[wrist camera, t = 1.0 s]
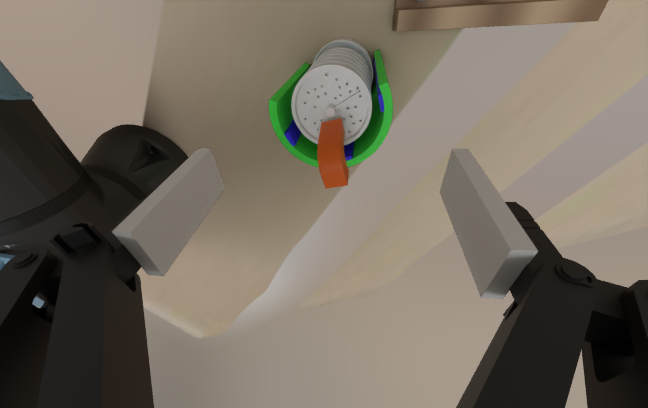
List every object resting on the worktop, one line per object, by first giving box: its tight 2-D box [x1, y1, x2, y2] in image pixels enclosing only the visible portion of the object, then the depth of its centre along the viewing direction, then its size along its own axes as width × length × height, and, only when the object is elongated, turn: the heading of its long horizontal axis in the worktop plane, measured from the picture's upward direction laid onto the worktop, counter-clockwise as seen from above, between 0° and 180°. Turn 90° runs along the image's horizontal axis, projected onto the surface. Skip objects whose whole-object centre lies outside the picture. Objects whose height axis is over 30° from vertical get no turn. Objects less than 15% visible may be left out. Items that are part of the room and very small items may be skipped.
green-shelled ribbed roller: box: [269, 38, 393, 188], centre depth 23 cm, size 9×8×18 cm
